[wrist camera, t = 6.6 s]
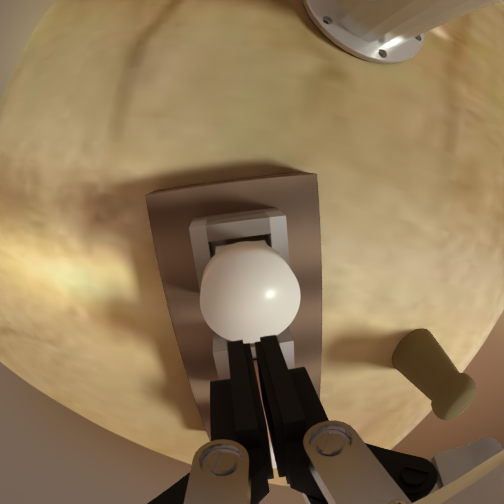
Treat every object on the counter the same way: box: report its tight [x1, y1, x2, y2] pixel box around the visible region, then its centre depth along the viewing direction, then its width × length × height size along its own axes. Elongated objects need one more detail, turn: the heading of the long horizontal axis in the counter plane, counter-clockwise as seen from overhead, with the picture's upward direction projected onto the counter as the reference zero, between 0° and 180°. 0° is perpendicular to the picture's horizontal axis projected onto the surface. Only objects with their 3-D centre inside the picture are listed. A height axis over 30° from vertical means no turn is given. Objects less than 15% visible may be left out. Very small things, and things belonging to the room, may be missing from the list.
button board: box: [146, 172, 322, 442], centre depth 24 cm, size 28×12×6 cm, turn 6°
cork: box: [392, 329, 476, 420], centre depth 25 cm, size 6×6×11 cm
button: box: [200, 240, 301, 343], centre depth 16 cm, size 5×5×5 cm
